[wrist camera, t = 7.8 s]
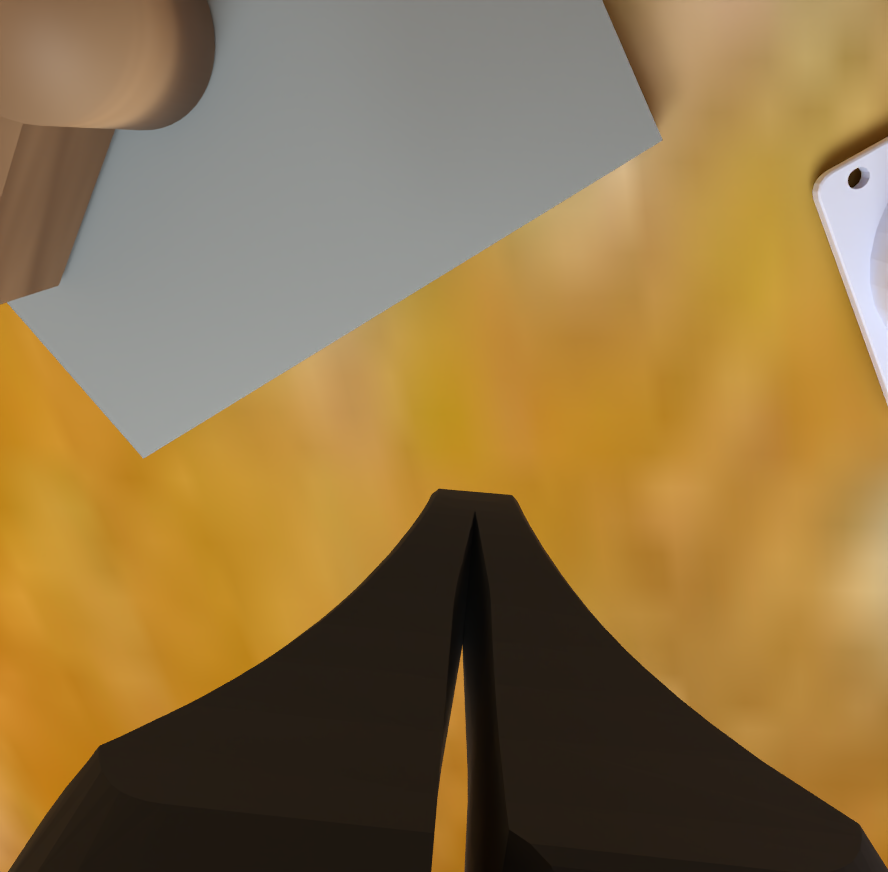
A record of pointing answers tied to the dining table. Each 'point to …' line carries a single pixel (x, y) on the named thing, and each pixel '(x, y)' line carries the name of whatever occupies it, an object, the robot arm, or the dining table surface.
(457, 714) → the dining table surface
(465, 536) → the robot arm
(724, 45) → the dining table surface
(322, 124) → the grey board
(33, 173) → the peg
